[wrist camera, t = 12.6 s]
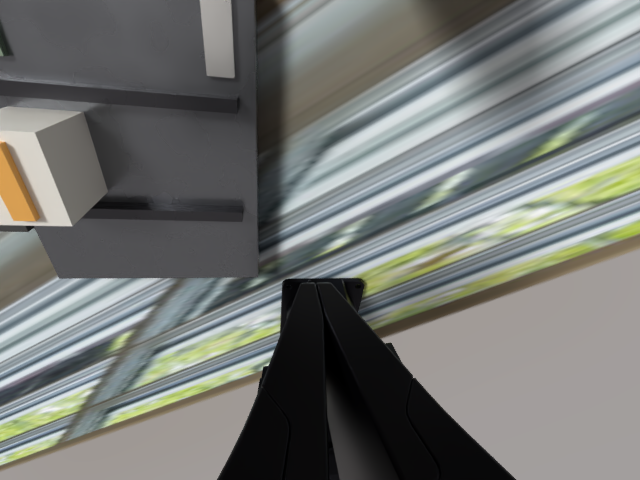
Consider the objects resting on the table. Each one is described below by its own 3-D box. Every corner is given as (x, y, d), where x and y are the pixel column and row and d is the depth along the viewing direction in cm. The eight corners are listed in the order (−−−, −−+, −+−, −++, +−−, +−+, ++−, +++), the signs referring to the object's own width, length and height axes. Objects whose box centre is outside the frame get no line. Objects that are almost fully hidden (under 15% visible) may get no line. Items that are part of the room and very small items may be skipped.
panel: (259, 259, 22) (257, 285, 20) (76, 258, 20) (51, 287, 18) (256, -27, 14) (252, -39, 11) (-66, -76, 12) (-150, -103, 9)
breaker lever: (107, 191, 16) (68, 230, 13) (44, 189, 16) (-13, 228, 13) (83, 111, 14) (29, 134, 11) (7, 106, 14) (-72, 128, 10)
